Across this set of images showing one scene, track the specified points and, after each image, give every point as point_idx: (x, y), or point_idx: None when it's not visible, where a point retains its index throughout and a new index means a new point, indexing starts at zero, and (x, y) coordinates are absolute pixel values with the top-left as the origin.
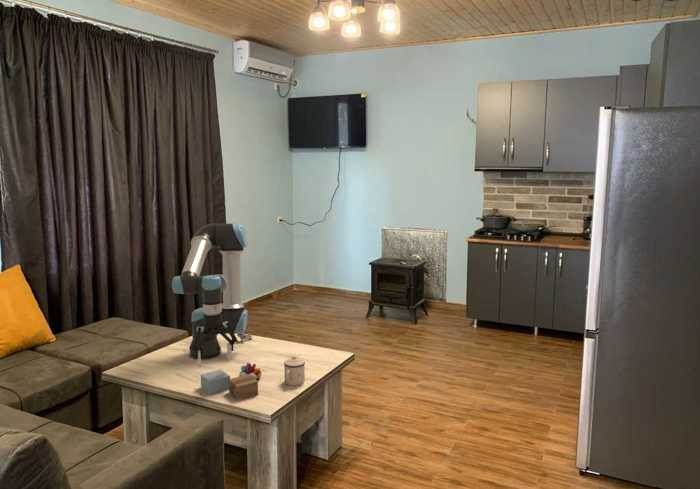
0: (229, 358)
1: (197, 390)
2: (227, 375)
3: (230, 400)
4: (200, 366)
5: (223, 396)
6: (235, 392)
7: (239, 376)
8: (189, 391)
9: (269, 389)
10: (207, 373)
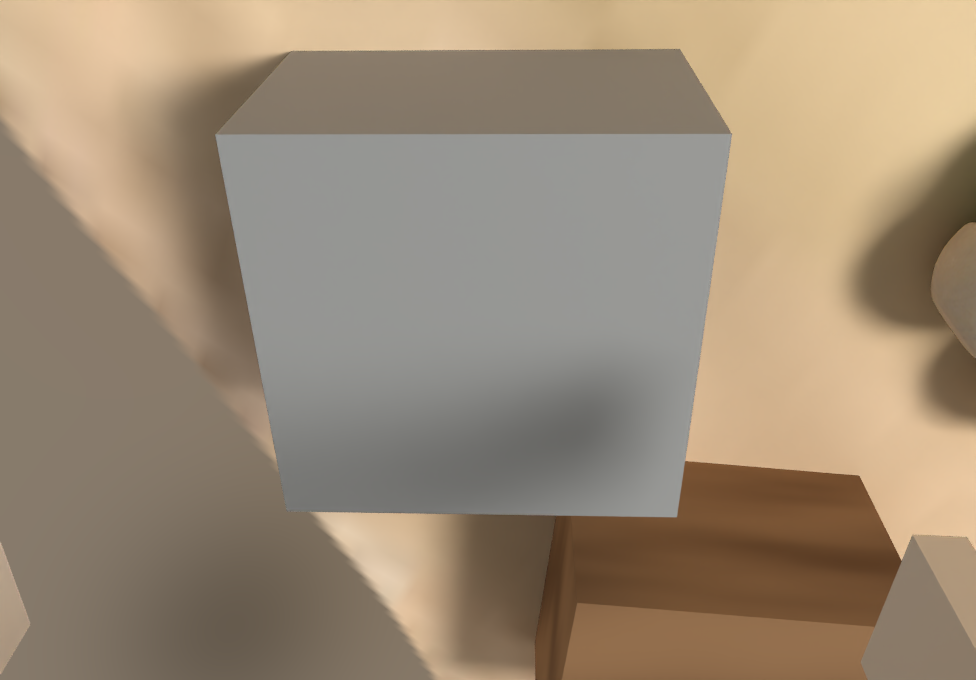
0: (883, 653)
1: (202, 126)
2: (649, 488)
3: (472, 609)
4: (14, 629)
5: None
6: (542, 673)
7: (953, 290)
8: (69, 78)
9: None
10: (374, 176)
